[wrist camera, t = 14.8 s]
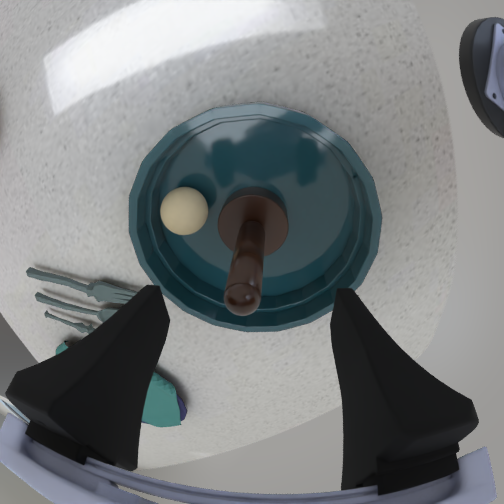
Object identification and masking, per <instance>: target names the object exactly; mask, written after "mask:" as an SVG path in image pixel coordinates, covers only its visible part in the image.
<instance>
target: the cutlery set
mask: <svg viewBox="0 0 504 504" xmlns="http://www.w3.org/2000/svg"><path fill="white" fill-rule="evenodd" d="M26 273H27V276H28V277H32V278H35V279H39V280H43V281H48V282H53V283H57V284H61V285H65V286H69V287H71V288H74V289H76V290H79V291H82V292H86V293H87V295H88V297H90V296H94V297H95V298H96V300H97V301H98V302H100V301H107V302H114V303H122V304H126V303H127V302H128V301H129V300H130V299H131V298H132V297H133V296H134V295H136V294H137V293H138V292H136V291H132V290H128V289H124V288H120V287H117V286H114V285H111V284H108V283H106V282H102V281H97V283H90V284H89V285H86V284H83V283H80V282H77V281H75V280H72V279H70V278H67V277H63V276H60V275H56V274H52V273H47V272H42V271H39V270H36V269H34V268H31V267H30V268H29V269H28V270H27V271H26ZM132 295H133V296H132ZM35 297H36V299H37V301H39V302H42V303H46V304H49V305H52V306H56V307H59V308H63V309H66V310H71V311H77V312H81V313H85V314H92V315H97V317H98V318H99V320H101V321H102V322H103V323H104V322H105V321H106V320H107V319H109V318H110V317H111V316H112V315H113V314H114V313H116V312H117V311H118V310H119V308H108V307H107V308H105V309H103V310H101V311H95V310H90V309H86V308H82V307H79V306H75V305H71V304H67V303H64V302H62V301H59V300H56V299H53V298H50V297H48V296H46V295H43V294H41V293H39V292H37V293H36V294H35ZM45 317H46V318H47V317H49V318H52V319H55V320H58V321H61V322H63V323H65V324H67V325H69V326H72V327H75V328H76V329H77V330H79V331H80V332H81V333H84V332H87V333H88V334H90V333H91V332H93V331H94V330H95V329H94V328H93V326H92V323H91V324H90V325H89V326H85V325H84V324H83V323H72V322H70V321H67V320H64V319H61V318H58V317H56V316H54V315H52V314H49V313H48V311H46V312H45ZM65 342H68V341H64V343H63V344H61V345H59V346H58V347H57V349H56V355H57V354H59V353H61V352H62V351H64V350H66V349H67V348H69V347H67V346H66V345H65ZM186 413H187V409H186V407H185V405H184V402H183V400H182V399H181V398H180V397H179V396H178V395H177V394H176V391H175V387H174V386H173V385H172V383H170V382H168V381H166V380H165V379H164V378H162V377H160V376H159V374H157V373H155V372H154V373H153V376H152V379H151V382H150V385H149V388H148V392H147V396H146V401H145V405H144V410H143V416H142V423H147V424H151V425H153V426H156V427H171V426H177V425H181V421H182V420H184V419H185V416H186Z"/></svg>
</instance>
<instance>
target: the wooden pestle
mask: <svg viewBox="0 0 504 504" xmlns="http://www.w3.org/2000/svg"><path fill="white" fill-rule="evenodd" d="M288 229H289V226H288V214H287V210H286V207H285V205H284V203H283V202H282V200H281V199H280V198H279V197H278V196H277V195H276V194H274V193H273V192H271V191H269V190H267V189H264V188H260V187H247V188H243V189H240V190H238V191H236V192H234V193H233V194H232V195H231V196H229V198H228V199H227V200H226V201H225V203H224V205H223V207H222V210H221V212H220V215H219V218H218V232H219V235H220V237H221V239H222V241H223V242H224V244H225V245H226V246H227V247H228V248H229V249H230V250H232V251H233V252H234V253H233V257H232V261H231V265H230V270H229V274H228V278H227V283H226V287H225V291H224V303H225V305H226V307H227V309H228V310H229V311H230V312H232V313H233V314H235V315H239V316H246V315H249V314H252V313H253V312H254V311H255V310H256V309H257V308H258V307H259V305H260V302H261V292H262V278H263V263H264V256H267V255H270V254H272V253H273V252H275V251H276V250H278V249H279V248H280V247H281V246H282V244H283V243H284V241H285V240H286V237H287V234H288Z"/></svg>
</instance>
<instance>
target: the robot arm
mask: <svg viewBox="0 0 504 504" xmlns="http://www.w3.org/2000/svg"><path fill="white" fill-rule="evenodd" d="M502 31H503V32H502ZM484 92H485V95H486V97H487V98H488V99H490V100H491V101H492V102H493V103H494V104H496V105H497V106H498V107H499V108H500V109H502V110H503V111H504V28H503V27H502V26H501V25H500V24H498V23H496V24H494V32H493V42H492V50H491V57H490V64H489V70H488V75H487V80H486V85H485V91H484ZM493 95H494V97H493ZM169 324H170V318H169V315H168V312H167V308H166V305H165V302H164V299H163V295H162V292H161V289H160V286H158V285H146V286H145V287H144V288H143V289H141V290H140V291H139V292H138V293H137V294H136V295H134V296H133V297H132V298H131V299H130V300H129V301H128V302H127V303H126V304H125V305H123V306H122V307H121V308H120V309H119V310H118V311H117V312H116V313H114V314H113V315H112V316H111V317H110V318H109V319H107V320H106V321H105V322H104V323H103V324H101V325H100V326H99V327H98V328H97V329H95V330H94V331H93V332H91V333H90V334H89V335H87V336H86V337H84V338H83V339H82V340H80V341H79V342H77V343H76V344H74V345H72V346H71V347H69V348H67V349H66V350H64V351H62V352H61V353H59V354H57V355H55V356H53V357H51V358H49V359H47V360H45V361H43V362H41V363H39V364H36V365H34V366H31V367H29V368H26V369H23V370H21V371H18V372H17V373H16V374H15V376H14V378H13V380H12V382H11V383H10V386H9V387H8V389H7V391H6V393H5V394H6V396H7V398H8V399H9V401H10V402H11V403H12V404H13V405H14V406H15V407H16V408H17V409H18V410H20V411H21V412H22V413H23V414H24V415H25V416H26V417H28V418H29V419H30V420H31V421H30V423H29V425H28V424H27V423H25V422H23V421H22V420H21V419H19V418H17V417H16V416H14V415H13V414H11V413H8V414H7V416H6V418H5V420H4V422H3V425H2V427H1V429H0V462H2V463H3V464H4V465H5V466H6V467H8V468H9V469H10V470H11V471H12V472H14V473H15V474H16V475H17V476H19V477H20V478H21V479H22V480H23V481H25V482H26V483H27V484H28V485H30V486H31V487H32V488H33V489H35V490H36V491H37V492H39V493H40V494H41V495H43V496H44V497H46V498H47V499H48V500H50V501H51V502H53V503H54V504H158V503H156V502H152V501H149V500H147V499H144V498H142V497H140V496H138V495H135V494H132V493H129V492H127V491H124V490H121V489H119V488H118V486H117V485H116V484H118V485H121V486H124V487H127V488H130V489H133V490H136V491H139V492H143V493H146V494H150V495H153V496H158V497H161V498H165V499H170V500H174V501H179V502H183V503H189V504H488V503H490V502H492V501H493V500H495V499H496V498H497V495H496V488H495V482H494V477H493V472H492V467H491V463H490V458H489V454H488V450H487V447H483V448H480V449H478V450H476V451H474V452H471V453H469V454H466V455H464V456H462V457H460V458H458V459H457V456H456V453H457V452H459V445H458V442H459V441H461V440H462V439H463V438H464V437H466V436H467V435H468V434H469V433H471V432H472V431H473V430H474V429H475V428H476V427H477V425H478V423H479V420H478V417H477V413H476V410H475V407H474V405H473V402H472V400H471V399H469V398H467V397H465V396H464V395H462V394H460V393H458V392H456V391H455V390H453V389H451V388H450V387H448V386H447V385H445V384H444V383H442V382H441V381H439V380H438V379H436V378H435V377H434V376H433V375H431V374H430V373H429V372H427V371H426V370H425V369H424V368H422V367H421V366H420V365H419V364H418V363H416V362H415V361H414V360H413V359H412V358H411V357H410V356H409V355H408V354H407V353H406V352H404V351H403V350H402V349H401V348H400V347H399V346H398V345H397V344H396V342H395V341H394V340H393V339H392V338H391V337H390V336H389V335H388V334H387V332H386V331H385V330H384V329H383V328H382V326H381V325H380V324H379V323H378V322H377V320H376V319H375V318H374V317H373V315H372V314H371V313H370V311H369V310H368V309H367V307H366V306H365V305H364V304H363V302H362V301H361V299H360V298H359V297H358V295H357V294H356V293H355V291H354V290H353V289H352V288H337V291H336V296H335V302H334V307H333V312H332V317H331V322H330V329H331V341H332V349H333V354H334V359H335V364H336V369H337V374H338V379H339V385H340V390H341V397H342V409H343V434H344V437H343V438H344V439H343V471H342V483H341V491H333V492H324V493H309V494H252V493H238V492H227V491H218V490H210V489H204V488H197V487H191V486H186V485H181V484H176V483H171V482H167V481H162V480H158V479H154V478H150V477H147V476H143V475H139V474H136V473H133V472H129V471H133V470H135V469H136V468H137V465H138V446H139V437H140V429H141V422H142V416H143V410H144V405H145V401H146V396H147V392H148V388H149V385H150V382H151V379H152V376H153V373H154V371H155V368H156V365H157V363H158V360H159V357H160V355H161V352H162V349H163V346H164V344H165V341H166V337H167V333H168V328H169ZM108 464H109V465H108ZM111 465H112V466H111ZM114 466H115V467H114ZM117 467H118V468H117ZM120 468H121V469H120ZM123 469H125V470H123ZM126 470H128V471H126Z"/></svg>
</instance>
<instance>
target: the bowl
mask: <svg viewBox="0 0 504 504" xmlns="http://www.w3.org/2000/svg"><path fill="white" fill-rule="evenodd" d="M179 187H190V188H193V189H196V190H197V191H199V192H200V193H201V194H202V195H203V196H204V198H205V199H206V202H207V205H208V216H207V220H206V222H205V224H204V225H203V226H202V227H201V228H200V229H199V230H198V231H196V232H195V233H192V234H189V235H179V234H176V233H173V232H171V231H170V230H169V229H168V228H167V227H166V226H165V225H164V223H163V221H162V219H161V214H160V209H161V204H162V201H163V199H164V198H165V196H166V195H167V194H168V193H169V192H170V191H172V190H174V189H176V188H179ZM247 187H260V188H264V189H267V190H269V191H271V192H273V193H274V194H276V195H277V196H278V197H279V198H280V199H281V200H282V202H283V203H284V205H285V207H286V210H287V214H288V226H289V229H288V234H287V237H286V240H285V241H284V243H283V244H282V246H281V247H280V248H279V249H278V250H276V251H275V252H273V253H272V254H270V255H267V256H264V263H263V278H262V292H261V302H260V305H259V307H258V308H257V309H256V310H255V311H254V312H253V313H252V314H249V315H246V316H239V315H235V314H233V313H232V312H230V311H229V310H228V309H227V307H226V305H225V303H224V291H225V287H226V283H227V278H228V274H229V270H230V265H231V261H232V257H233V253H234V252H233V251H232V250H230V249H229V248H228V247H227V246H226V245H225V244H224V242H223V241H222V239H221V237H220V235H219V232H218V218H219V215H220V212H221V210H222V207H223V205H224V203H225V201H226V200H227V199H228V198H229V196H231V195H232V194H233V193H234V192H236V191H238V190H240V189H243V188H247ZM381 224H382V213H381V209H380V204H379V200H378V196H377V191H376V187H375V183H374V180H373V177H372V176H371V174H370V173H369V171H368V170H367V168H366V167H365V165H364V164H363V162H362V161H361V159H360V158H359V156H358V155H357V154H356V152H355V151H354V149H353V148H352V147H351V145H350V144H349V143H348V142H347V141H346V140H345V139H343V138H342V137H340V136H339V135H338V134H336V133H335V132H333V131H332V130H330V129H329V128H328V127H326V126H325V125H323V124H322V123H320V122H319V121H317V120H316V119H314V118H313V117H311V116H310V115H308V114H306V113H305V112H303V111H300V110H296V109H292V108H288V107H284V106H280V105H276V104H272V103H267V102H251V103H241V104H232V105H224V106H219V107H216V108H212V109H209V110H207V111H205V112H203V113H201V114H199V115H197V116H195V117H193V118H191V119H189V120H187V121H185V122H183V123H182V124H180V125H178V126H176V127H174V128H172V129H171V130H169V132H168V133H167V134H166V135H165V136H164V137H163V138H162V139H161V140H160V141H159V142H158V144H157V145H156V146H155V147H154V148H153V149H152V150H151V151H150V153H149V154H148V155H147V156H146V157H145V158H144V160H143V161H142V163H141V166H140V168H139V171H138V173H137V176H136V179H135V181H134V184H133V187H132V189H131V192H130V195H129V234H130V237H131V240H132V243H133V246H134V249H135V252H136V255H137V258H138V261H139V263H140V265H141V267H142V268H143V270H144V271H145V273H146V274H147V275H148V277H149V278H150V280H151V281H152V282H153V284H154V285H158V286H160V289H161V292H162V294H163V295H165V296H166V297H167V298H168V299H169V300H171V301H172V302H173V303H174V304H176V305H177V306H178V307H179V308H180V309H182V310H183V311H185V312H187V313H189V314H191V315H193V316H195V317H197V318H199V319H201V320H203V321H205V322H208V323H210V324H212V325H215V326H219V327H224V328H229V329H233V330H238V331H243V332H245V331H246V332H276V331H282V330H286V329H289V328H293V327H297V326H301V325H305V324H308V323H311V322H313V321H315V320H316V319H318V318H320V317H322V316H324V315H325V314H327V313H329V312H331V311H332V310H333V307H334V302H335V296H336V291H337V288H352V289H353V290H354V291H355V290H356V289H357V288H358V287H359V286H360V285H361V284H362V283H363V281H364V279H365V277H366V275H367V273H368V271H369V269H370V267H371V265H372V263H373V261H374V259H375V257H376V255H377V253H378V247H379V239H380V232H381Z"/></svg>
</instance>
